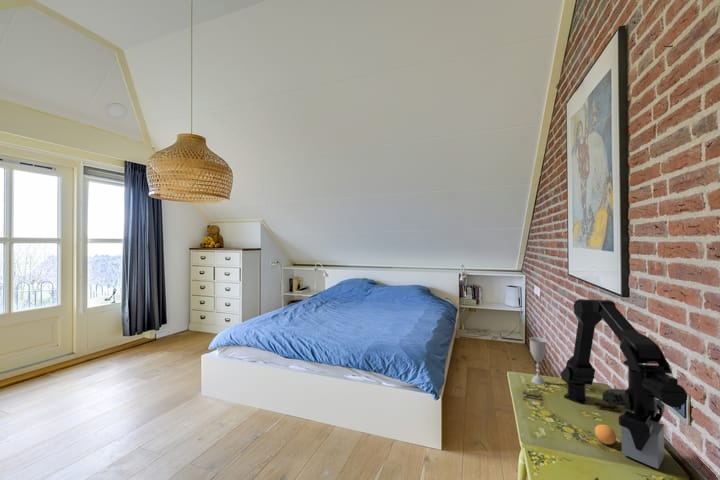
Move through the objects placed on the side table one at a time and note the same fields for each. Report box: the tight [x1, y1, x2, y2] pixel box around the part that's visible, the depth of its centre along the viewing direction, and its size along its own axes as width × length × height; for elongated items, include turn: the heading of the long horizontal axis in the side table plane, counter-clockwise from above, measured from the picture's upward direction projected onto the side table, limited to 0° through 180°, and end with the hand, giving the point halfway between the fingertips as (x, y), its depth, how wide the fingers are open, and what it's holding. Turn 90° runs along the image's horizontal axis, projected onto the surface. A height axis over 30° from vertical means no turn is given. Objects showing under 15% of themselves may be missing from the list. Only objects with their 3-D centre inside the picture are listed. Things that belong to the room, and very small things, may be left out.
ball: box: [594, 424, 617, 445], centre depth 92 cm, size 5×5×5 cm
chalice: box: [528, 336, 548, 386], centre depth 132 cm, size 7×7×18 cm
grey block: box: [620, 420, 665, 470], centre depth 86 cm, size 7×7×9 cm
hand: (642, 444), depth 86 cm, fingers closed on grey block, 7 cm apart
